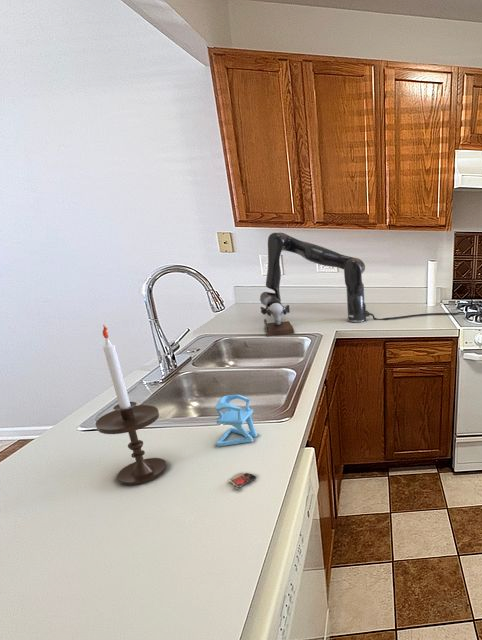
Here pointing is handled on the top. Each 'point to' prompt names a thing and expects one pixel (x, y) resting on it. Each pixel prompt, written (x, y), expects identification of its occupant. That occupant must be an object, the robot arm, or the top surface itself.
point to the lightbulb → (276, 312)
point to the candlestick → (129, 425)
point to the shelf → (278, 328)
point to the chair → (235, 420)
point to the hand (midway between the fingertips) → (277, 313)
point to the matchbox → (242, 479)
